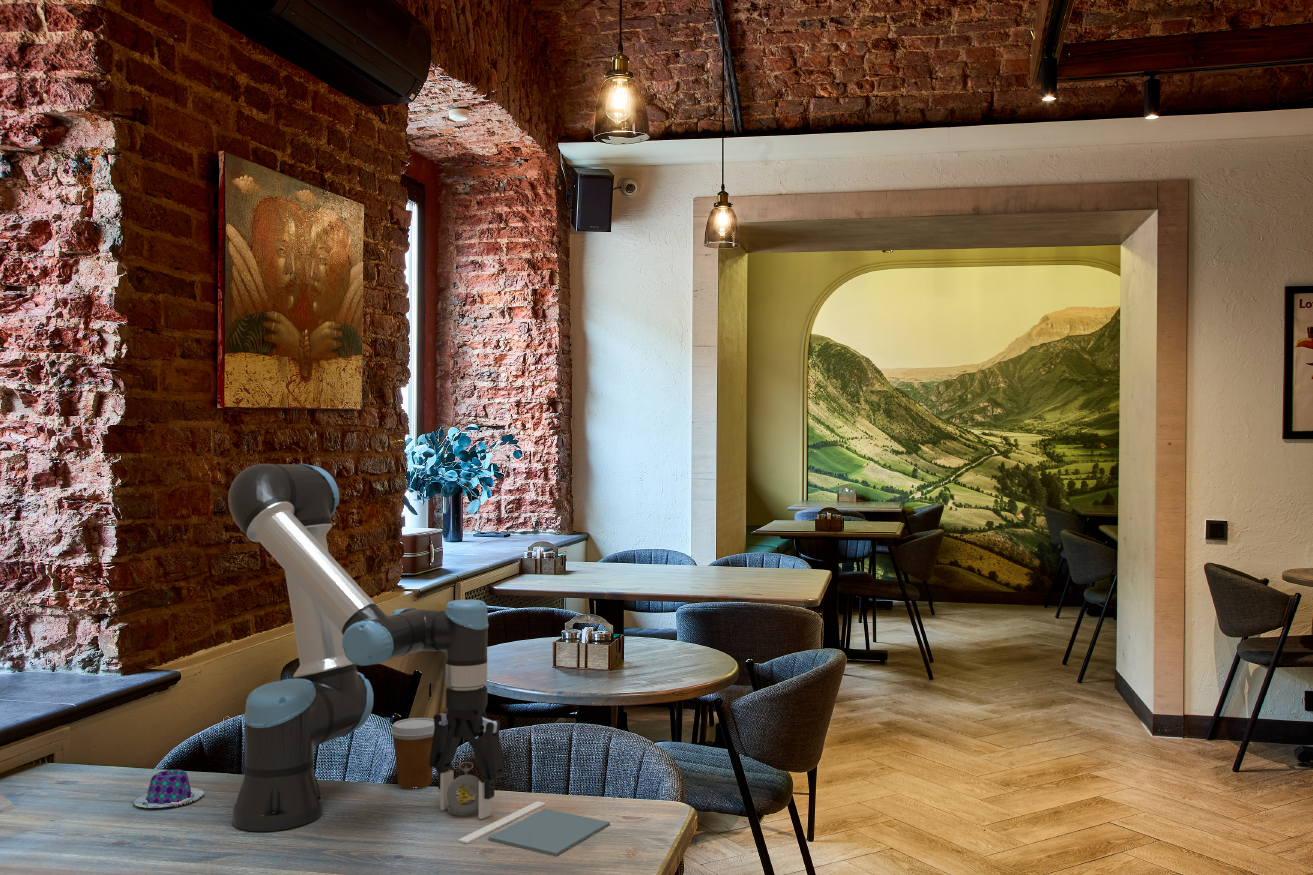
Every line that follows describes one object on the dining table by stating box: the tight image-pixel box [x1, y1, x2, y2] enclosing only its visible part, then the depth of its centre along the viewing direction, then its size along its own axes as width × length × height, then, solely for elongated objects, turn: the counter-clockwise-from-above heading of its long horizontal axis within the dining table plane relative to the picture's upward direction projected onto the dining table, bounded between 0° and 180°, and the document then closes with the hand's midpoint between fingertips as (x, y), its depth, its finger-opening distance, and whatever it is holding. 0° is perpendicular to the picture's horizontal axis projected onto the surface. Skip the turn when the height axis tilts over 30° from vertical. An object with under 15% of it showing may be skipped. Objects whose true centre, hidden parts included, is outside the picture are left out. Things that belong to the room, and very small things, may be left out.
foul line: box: [457, 801, 547, 845], centre depth 169 cm, size 2×22×1 cm, turn 151°
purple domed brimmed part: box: [145, 769, 205, 807], centre depth 181 cm, size 12×12×5 cm
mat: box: [487, 808, 611, 857], centre depth 164 cm, size 14×16×1 cm
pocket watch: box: [446, 761, 481, 816], centre depth 173 cm, size 8×8×10 cm
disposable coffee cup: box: [390, 717, 435, 790], centre depth 190 cm, size 10×10×12 cm
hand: (465, 811), depth 173 cm, fingers open, 8 cm apart
